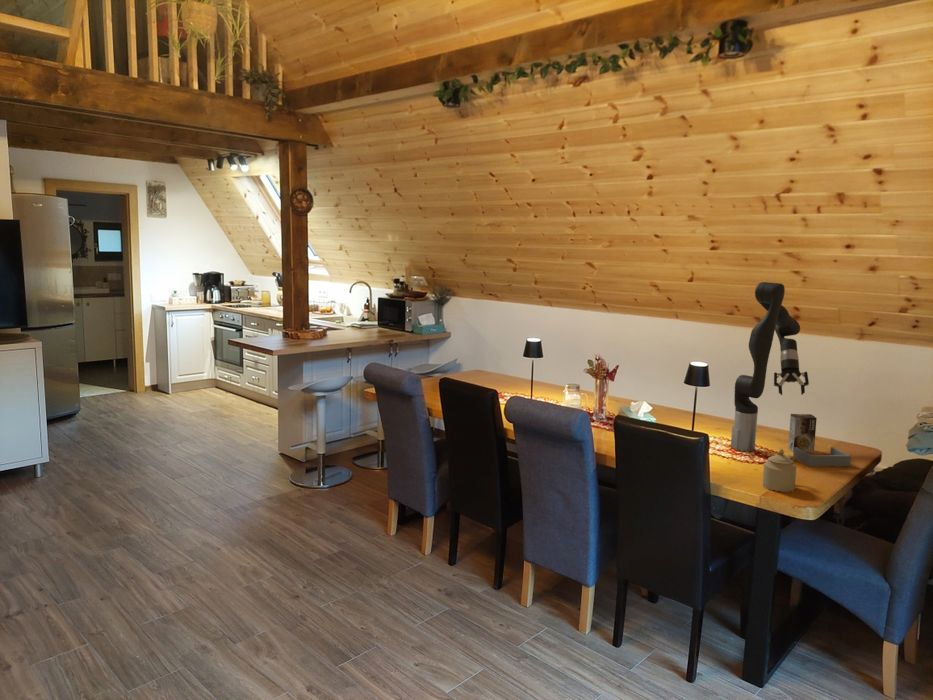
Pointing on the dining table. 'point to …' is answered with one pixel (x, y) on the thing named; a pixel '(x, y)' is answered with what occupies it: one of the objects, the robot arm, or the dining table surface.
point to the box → (823, 458)
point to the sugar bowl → (779, 473)
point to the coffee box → (802, 432)
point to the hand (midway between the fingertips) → (791, 394)
